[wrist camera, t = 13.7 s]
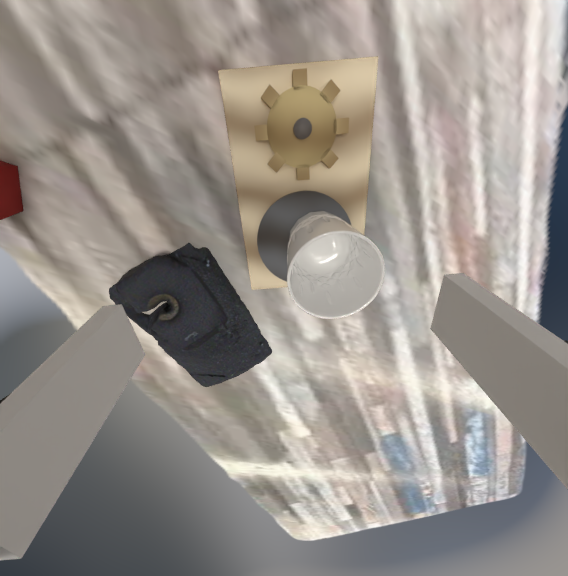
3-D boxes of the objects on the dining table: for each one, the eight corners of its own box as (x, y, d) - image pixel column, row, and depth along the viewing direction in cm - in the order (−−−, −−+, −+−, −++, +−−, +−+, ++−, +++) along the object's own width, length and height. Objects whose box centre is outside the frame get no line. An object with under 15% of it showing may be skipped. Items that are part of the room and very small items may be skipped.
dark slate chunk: (198, 383, 43) (190, 408, 39) (102, 280, 34) (78, 299, 30) (279, 352, 41) (279, 375, 36) (199, 230, 31) (188, 243, 27)
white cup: (288, 200, 27) (295, 224, 18) (359, 210, 28) (399, 238, 19) (279, 267, 31) (280, 314, 22) (342, 274, 31) (368, 323, 23)
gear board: (221, 74, 24) (211, 61, 20) (372, 61, 23) (389, 46, 20) (252, 284, 34) (250, 299, 31) (357, 276, 34) (366, 290, 30)
